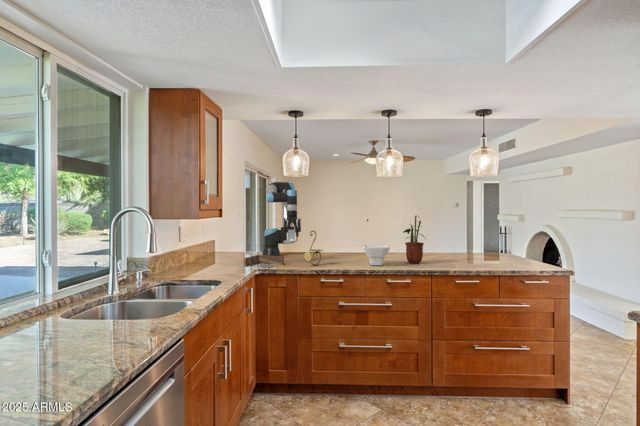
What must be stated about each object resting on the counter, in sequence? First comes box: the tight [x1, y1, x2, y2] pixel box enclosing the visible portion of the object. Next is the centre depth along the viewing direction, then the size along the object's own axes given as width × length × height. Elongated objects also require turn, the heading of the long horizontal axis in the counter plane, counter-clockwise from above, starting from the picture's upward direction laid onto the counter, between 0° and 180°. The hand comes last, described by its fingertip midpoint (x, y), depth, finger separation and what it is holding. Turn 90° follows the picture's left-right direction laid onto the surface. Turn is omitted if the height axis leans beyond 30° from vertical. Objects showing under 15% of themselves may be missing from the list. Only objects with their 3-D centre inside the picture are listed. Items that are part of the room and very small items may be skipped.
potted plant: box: [402, 215, 426, 265], centre depth 278 cm, size 17×16×35 cm
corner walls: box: [243, 254, 285, 267], centre depth 273 cm, size 18×22×6 cm
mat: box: [259, 264, 275, 269], centre depth 269 cm, size 10×13×1 cm
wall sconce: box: [304, 230, 324, 266], centre depth 274 cm, size 14×10×25 cm
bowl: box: [362, 244, 391, 266], centre depth 272 cm, size 19×19×14 cm
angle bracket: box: [283, 230, 296, 244], centre depth 284 cm, size 9×6×9 cm, turn 157°
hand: (292, 241), depth 287 cm, fingers closed on angle bracket, 6 cm apart
